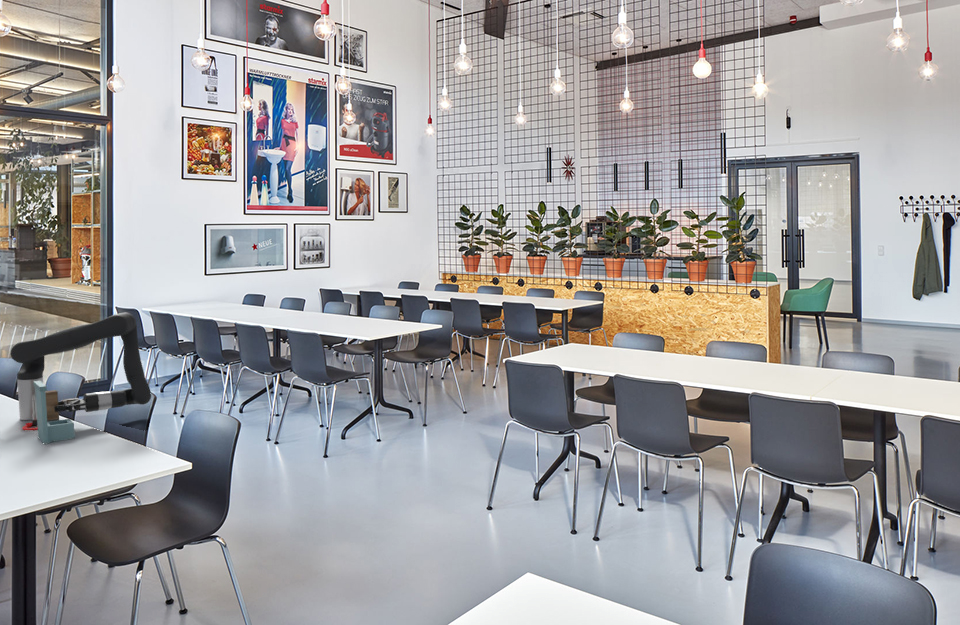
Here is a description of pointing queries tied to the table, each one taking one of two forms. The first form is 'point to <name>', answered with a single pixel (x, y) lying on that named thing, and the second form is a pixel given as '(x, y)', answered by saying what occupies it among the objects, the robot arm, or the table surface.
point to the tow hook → (34, 420)
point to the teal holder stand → (52, 428)
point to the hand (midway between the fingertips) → (52, 407)
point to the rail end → (51, 405)
